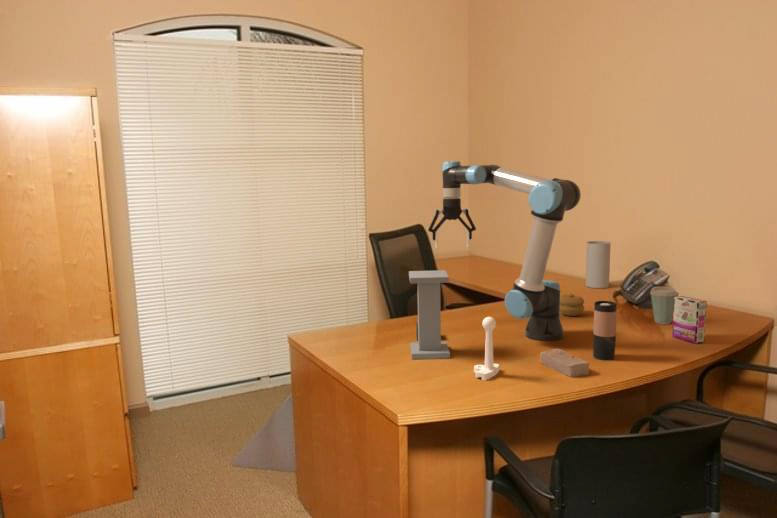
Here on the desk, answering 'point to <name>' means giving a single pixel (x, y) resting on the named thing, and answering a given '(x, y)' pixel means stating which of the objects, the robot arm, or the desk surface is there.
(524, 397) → the desk surface
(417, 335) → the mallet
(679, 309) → the candy bar box
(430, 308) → the stand
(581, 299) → the brown round lump
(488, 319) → the joystick
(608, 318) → the travel mug
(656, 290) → the disposable coffee cup
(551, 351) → the brick
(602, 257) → the cylinder vase
